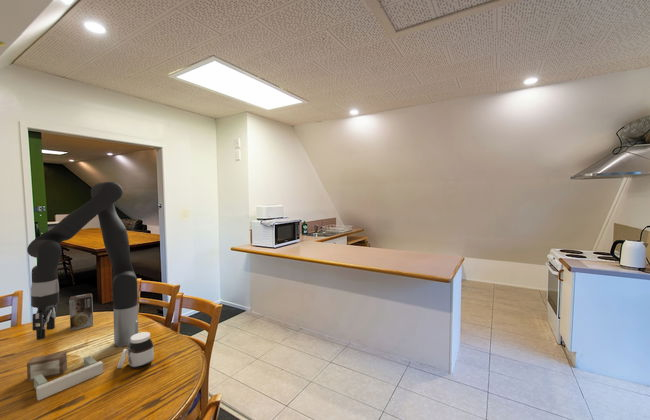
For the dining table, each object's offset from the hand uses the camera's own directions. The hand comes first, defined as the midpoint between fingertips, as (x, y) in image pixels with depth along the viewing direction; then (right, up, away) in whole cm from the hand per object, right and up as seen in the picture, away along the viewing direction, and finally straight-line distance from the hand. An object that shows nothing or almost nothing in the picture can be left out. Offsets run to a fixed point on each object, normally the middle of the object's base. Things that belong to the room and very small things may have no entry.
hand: (46, 334), depth 107 cm
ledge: (+11, -16, -3) cm, 20 cm away
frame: (0, -16, +1) cm, 16 cm away
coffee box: (-22, -14, +41) cm, 48 cm away
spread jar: (+29, -16, +8) cm, 34 cm away
